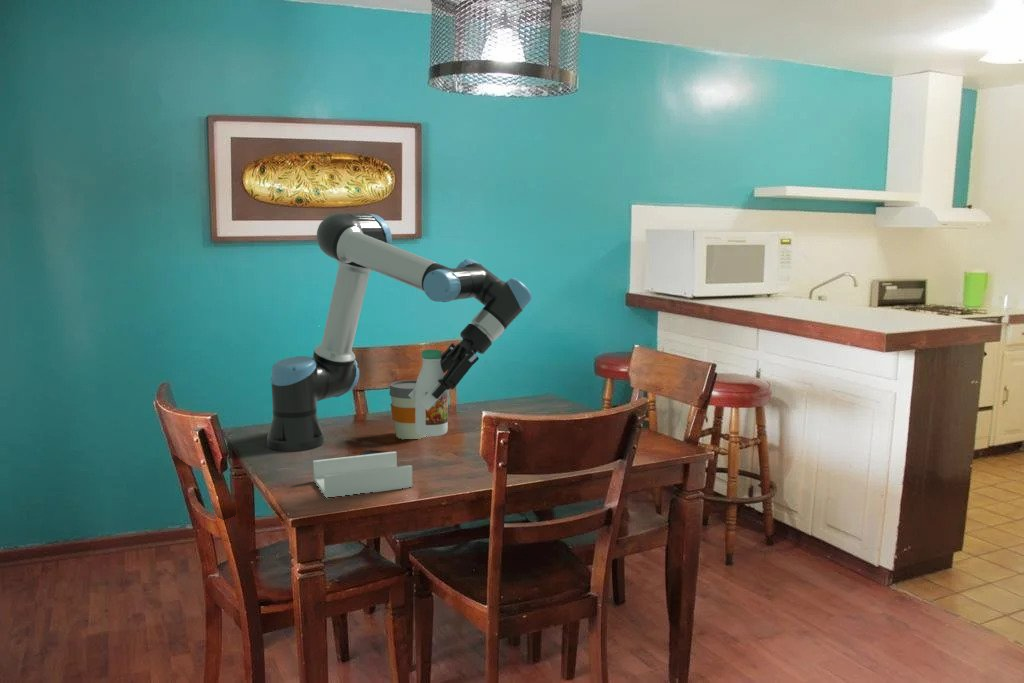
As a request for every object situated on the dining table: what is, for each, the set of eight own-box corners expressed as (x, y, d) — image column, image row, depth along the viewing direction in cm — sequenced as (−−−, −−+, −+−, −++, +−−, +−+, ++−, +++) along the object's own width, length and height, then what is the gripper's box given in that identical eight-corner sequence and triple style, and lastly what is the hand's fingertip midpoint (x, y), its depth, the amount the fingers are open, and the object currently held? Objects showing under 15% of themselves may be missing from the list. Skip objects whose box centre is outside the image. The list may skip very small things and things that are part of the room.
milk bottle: (413, 436, 194) (412, 353, 191) (417, 428, 202) (417, 347, 199) (445, 437, 194) (446, 353, 191) (449, 429, 201) (449, 348, 198)
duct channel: (313, 481, 194) (313, 460, 193) (395, 471, 202) (395, 451, 202) (325, 498, 182) (325, 476, 181) (412, 487, 190) (412, 466, 190)
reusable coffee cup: (388, 441, 229) (388, 389, 226) (391, 430, 241) (390, 380, 239) (434, 441, 230) (433, 388, 228) (434, 429, 242) (433, 379, 240)
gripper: (508, 349, 192) (443, 423, 187) (475, 337, 210) (415, 403, 206) (488, 327, 189) (420, 402, 184) (456, 317, 207) (394, 384, 203)
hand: (417, 402), depth 195 cm, fingers closed on milk bottle, 8 cm apart
